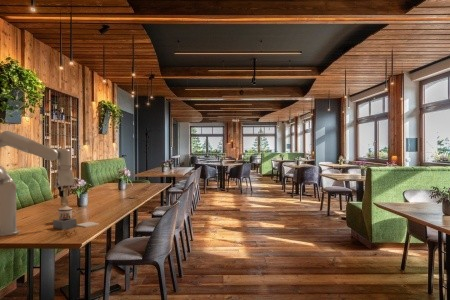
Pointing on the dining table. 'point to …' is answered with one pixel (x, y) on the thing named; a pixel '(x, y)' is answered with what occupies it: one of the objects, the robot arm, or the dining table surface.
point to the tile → (87, 224)
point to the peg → (64, 196)
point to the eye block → (64, 223)
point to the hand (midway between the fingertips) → (64, 196)
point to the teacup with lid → (66, 212)
